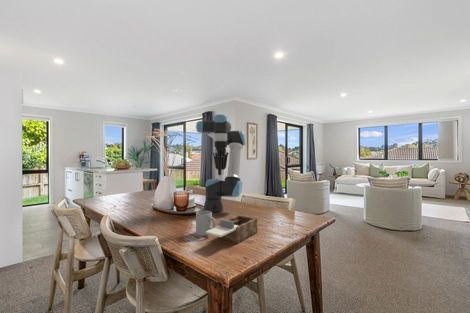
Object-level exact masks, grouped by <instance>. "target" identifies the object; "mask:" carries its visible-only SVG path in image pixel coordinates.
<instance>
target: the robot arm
mask: <svg viewBox="0 0 470 313" xmlns="http://www.w3.org/2000/svg"><path fill="white" fill-rule="evenodd" d="M195 124H196V125H195V128H196V129H195V130H196V132H197V133H199V134H201V133H202V134H203V133H204V134H206V135H207V136H209V137H210V138H211V139H212V140H213V142H214V148H215V151H214V152H212V156H213V160H214V167H215V169H216V170H217V175H218V176H217V178H211V179H207V180H206V181H205V201H204V205H203V208H202V209H203V210H204V211H211V212H212V214H214V213H216V214H217V213H220V212H223V211H224V203H223V201H222V198H223V197H227V198H238V197H240V196H241V194H242V190H243V182H242V180H241V177H239V176H240V165H241V164H240V163H241V152H242V149H243V148H244V146H246V136H245V132H244V131H243V130H232V124H231V122H230V121H228V116H227V115H226V114H220V113H219V114H215V115H214V120H198V121H197V122H196V123H195ZM227 148H229V152H228V151H227ZM227 162H228V166H227ZM226 168H227V175H226V176H225V177H224V171H225V170H226ZM203 210H202V211H203Z"/></svg>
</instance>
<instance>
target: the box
mask: <svg viewBox="0 0 470 313" xmlns="http://www.w3.org/2000/svg"><path fill="white" fill-rule="evenodd" d="M227 220H230V221H234V225H238V226H237V227H236V230H235V231H233V232H230V233H228V234H226V235H224V236H222V237H218V239H220V240H225V241H228V242H231V243H236V244H241V243H242V242H244V241H245V240H247V239H249V238H250V237H252V236H254V235H256V234H257V233H258V218H256V217H251V216H245V215H241V214H240V215H239V214H238V215H235V216H232V217H229V218H228V219H227ZM218 226H220V222H218Z"/></svg>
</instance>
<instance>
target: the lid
mask: <svg viewBox="0 0 470 313" xmlns="http://www.w3.org/2000/svg"><path fill="white" fill-rule="evenodd" d="M219 223H220V226H219V225H218V226H215V228H213V229H210V230H208V231H206V233H207V234H210V235H209V236H214V237H218V238H219V237H222V236H224V235H226V234H228V233H230V232H233V231H235V230H236V227H237V226H238V225H234V221H230V220H228V219H224V218H220V221H219Z"/></svg>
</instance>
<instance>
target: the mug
mask: <svg viewBox="0 0 470 313" xmlns="http://www.w3.org/2000/svg"><path fill="white" fill-rule="evenodd" d="M215 227H217V226H216V219H215V218H214V217H213V213H212V212H211V211H203V210H198V211H196V212H195V235H196V236H199V237H205V236H206V237H207V236H211V235H210V234H207V233H206V231H208V230H210V229H213V228H215Z"/></svg>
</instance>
